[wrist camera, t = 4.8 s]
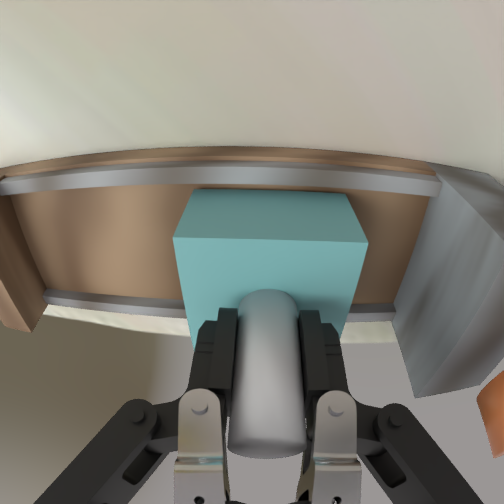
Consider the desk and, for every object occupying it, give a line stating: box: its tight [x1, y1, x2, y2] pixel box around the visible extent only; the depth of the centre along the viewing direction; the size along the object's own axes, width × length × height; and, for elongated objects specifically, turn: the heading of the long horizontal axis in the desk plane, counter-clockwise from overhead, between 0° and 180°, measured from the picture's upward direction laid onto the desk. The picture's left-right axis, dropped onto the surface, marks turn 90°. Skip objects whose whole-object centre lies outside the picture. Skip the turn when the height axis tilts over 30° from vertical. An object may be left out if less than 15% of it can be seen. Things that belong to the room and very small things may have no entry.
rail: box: [0, 146, 504, 398], centre depth 14 cm, size 32×10×8 cm, turn 89°
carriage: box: [173, 189, 368, 459], centre depth 12 cm, size 7×7×10 cm
